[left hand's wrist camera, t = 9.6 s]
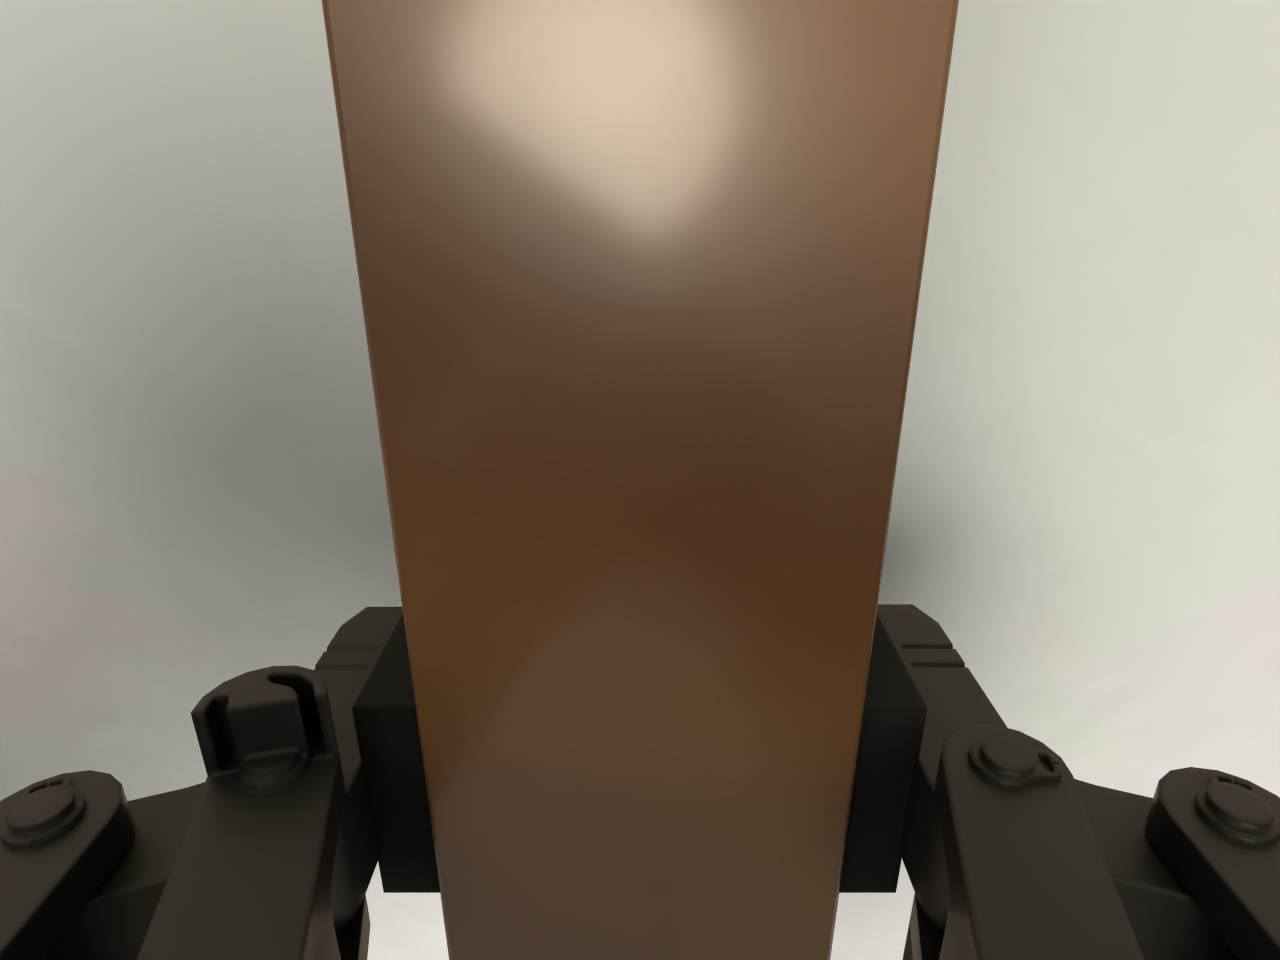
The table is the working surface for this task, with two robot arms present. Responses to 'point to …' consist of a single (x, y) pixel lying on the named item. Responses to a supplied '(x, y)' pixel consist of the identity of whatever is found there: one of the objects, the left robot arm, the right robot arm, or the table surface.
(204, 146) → the table surface
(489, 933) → the post
